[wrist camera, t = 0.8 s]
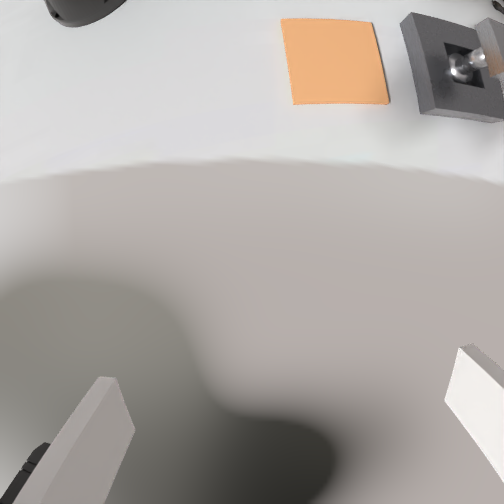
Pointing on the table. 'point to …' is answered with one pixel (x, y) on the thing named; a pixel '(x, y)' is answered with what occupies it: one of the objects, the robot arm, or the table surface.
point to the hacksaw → (498, 6)
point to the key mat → (333, 62)
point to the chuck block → (449, 71)
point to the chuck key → (481, 54)
